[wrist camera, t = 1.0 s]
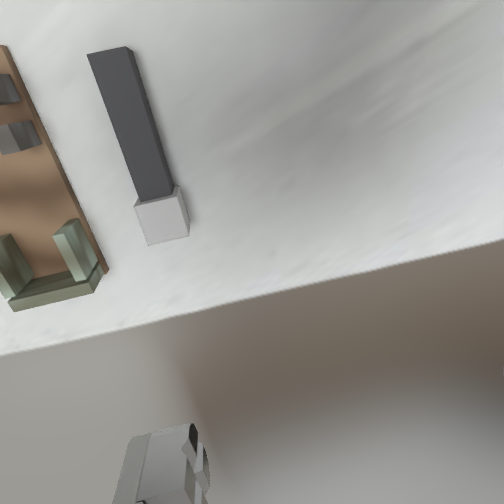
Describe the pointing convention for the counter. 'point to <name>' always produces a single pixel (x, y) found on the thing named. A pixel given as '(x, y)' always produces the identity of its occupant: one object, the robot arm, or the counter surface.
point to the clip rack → (38, 209)
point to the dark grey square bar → (140, 146)
